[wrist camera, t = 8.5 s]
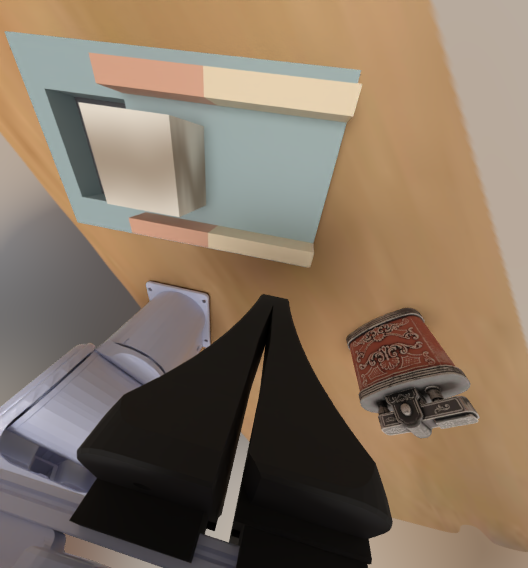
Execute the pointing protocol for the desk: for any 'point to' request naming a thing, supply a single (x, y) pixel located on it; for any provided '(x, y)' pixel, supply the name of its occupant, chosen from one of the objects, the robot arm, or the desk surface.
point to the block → (147, 159)
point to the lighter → (408, 376)
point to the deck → (217, 136)
